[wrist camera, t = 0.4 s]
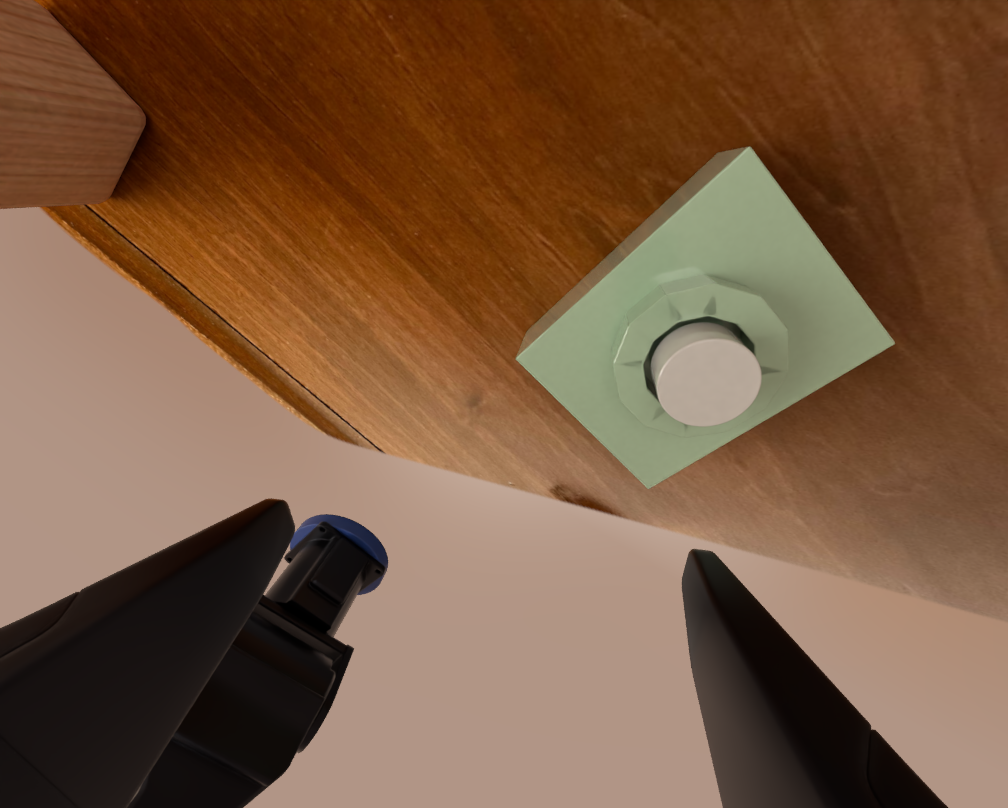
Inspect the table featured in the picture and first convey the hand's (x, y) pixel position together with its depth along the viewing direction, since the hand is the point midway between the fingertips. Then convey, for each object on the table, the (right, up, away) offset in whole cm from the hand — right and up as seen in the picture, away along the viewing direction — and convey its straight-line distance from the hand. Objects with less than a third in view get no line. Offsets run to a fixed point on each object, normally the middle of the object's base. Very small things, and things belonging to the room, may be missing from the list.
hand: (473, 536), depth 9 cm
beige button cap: (+9, +5, +8) cm, 13 cm away
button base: (+10, +7, +13) cm, 18 cm away
